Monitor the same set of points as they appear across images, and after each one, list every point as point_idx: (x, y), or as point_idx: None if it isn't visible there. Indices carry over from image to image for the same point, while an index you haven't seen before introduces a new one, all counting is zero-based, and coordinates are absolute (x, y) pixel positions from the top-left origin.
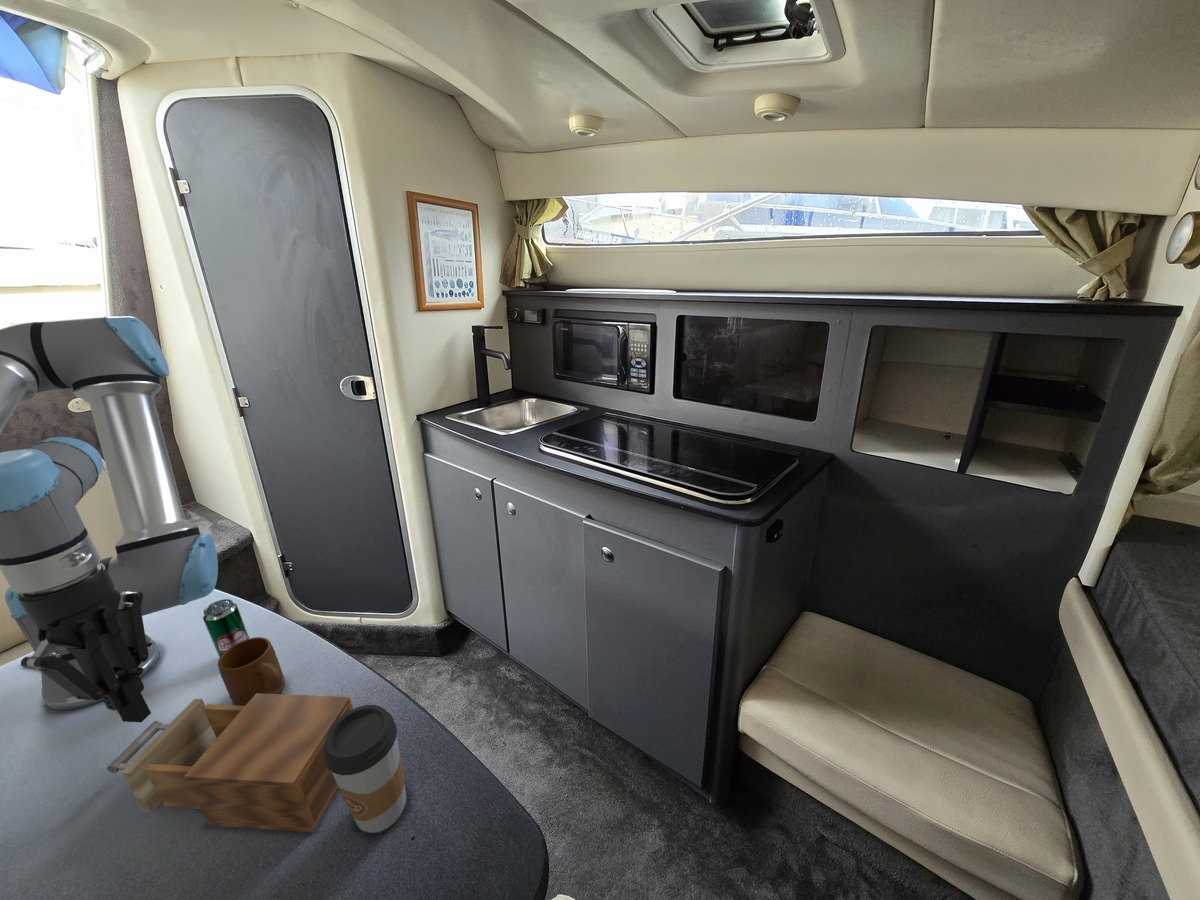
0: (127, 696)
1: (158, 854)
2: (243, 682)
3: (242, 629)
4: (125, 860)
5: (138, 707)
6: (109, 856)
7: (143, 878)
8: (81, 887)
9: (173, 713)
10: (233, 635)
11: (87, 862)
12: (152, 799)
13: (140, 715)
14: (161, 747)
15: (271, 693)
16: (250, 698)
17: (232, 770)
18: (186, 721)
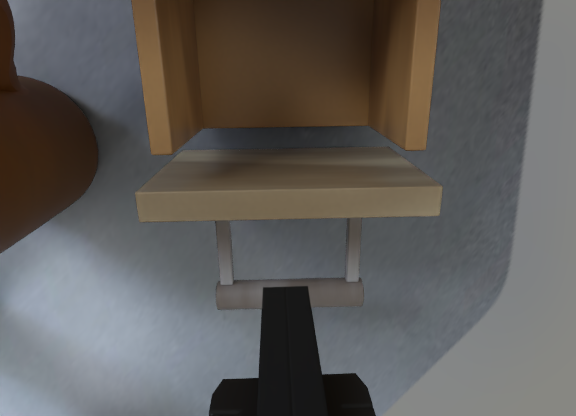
0: (324, 399)
1: (466, 56)
2: (17, 133)
3: None
4: (473, 124)
5: (297, 326)
6: (462, 167)
7: (515, 44)
8: (517, 168)
9: (140, 327)
10: None
11: (470, 202)
12: (383, 152)
13: (301, 302)
14: (326, 182)
15: (23, 79)
16: (61, 120)
17: None
18: (223, 184)
